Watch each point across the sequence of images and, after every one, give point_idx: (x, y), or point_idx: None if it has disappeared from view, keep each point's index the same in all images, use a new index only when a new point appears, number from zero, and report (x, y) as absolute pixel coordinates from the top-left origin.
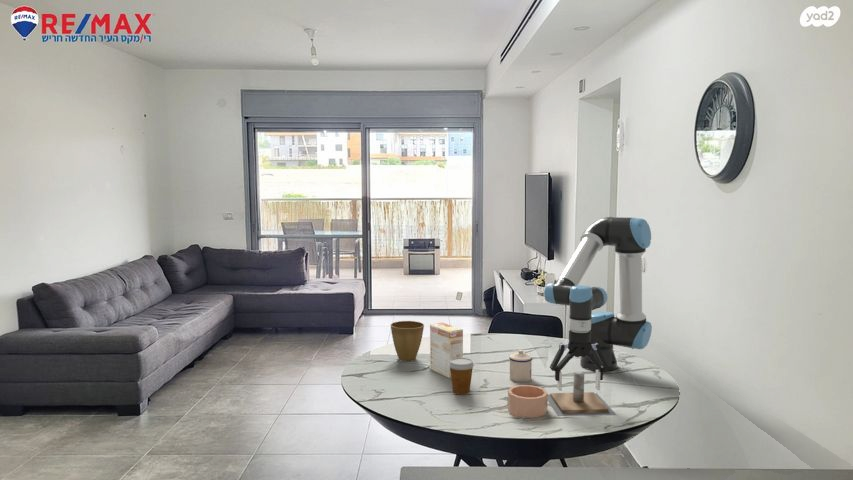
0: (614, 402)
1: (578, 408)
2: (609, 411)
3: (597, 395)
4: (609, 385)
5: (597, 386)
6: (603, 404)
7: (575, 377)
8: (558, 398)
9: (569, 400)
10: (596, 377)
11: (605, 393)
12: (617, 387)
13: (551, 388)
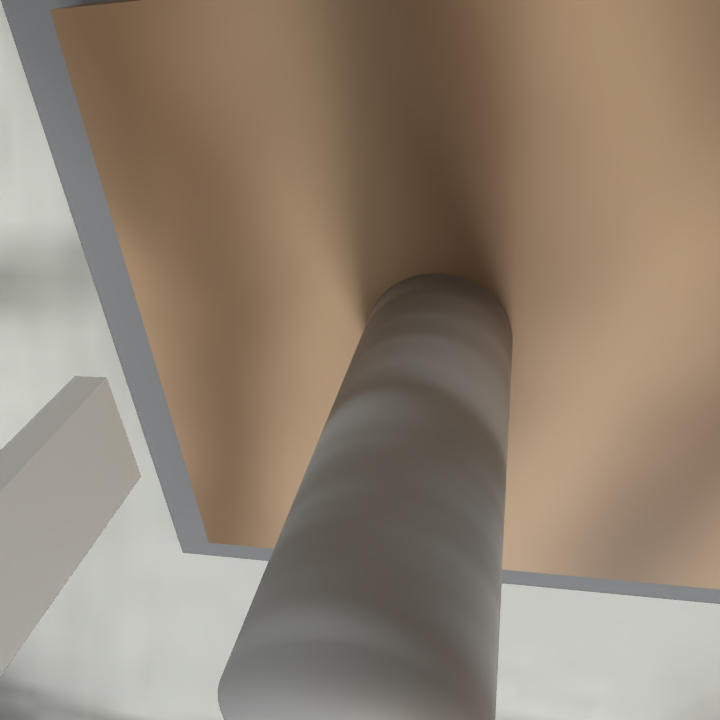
0: (32, 368)
1: (532, 24)
2: None
3: (182, 511)
4: (79, 672)
5: (81, 430)
6: (119, 200)
7: (475, 620)
8: (704, 435)
9: (566, 358)
10: (17, 591)
11: (113, 558)
12: None
13: (593, 716)
